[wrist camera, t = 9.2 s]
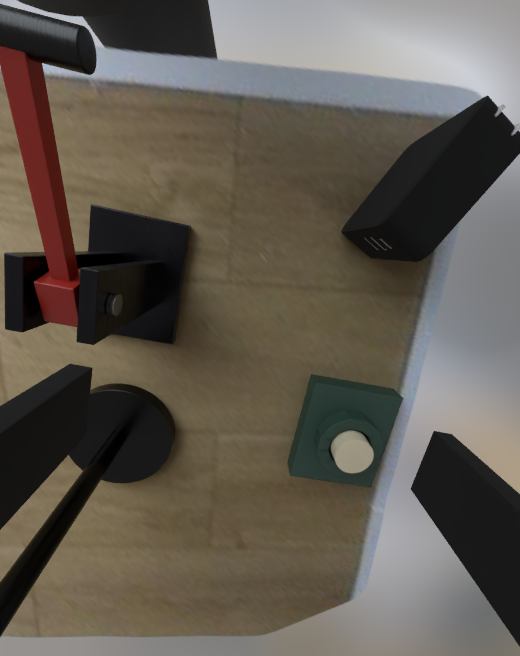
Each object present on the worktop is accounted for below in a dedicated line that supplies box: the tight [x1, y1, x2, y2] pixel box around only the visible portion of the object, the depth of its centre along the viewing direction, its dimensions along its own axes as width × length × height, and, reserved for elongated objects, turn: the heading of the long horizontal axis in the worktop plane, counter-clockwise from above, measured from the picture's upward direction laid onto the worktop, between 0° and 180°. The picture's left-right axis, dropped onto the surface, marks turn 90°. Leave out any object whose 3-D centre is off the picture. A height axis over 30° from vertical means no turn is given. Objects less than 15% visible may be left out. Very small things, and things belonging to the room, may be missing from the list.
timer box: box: [288, 375, 403, 487], centre depth 33 cm, size 12×10×4 cm
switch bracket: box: [4, 205, 191, 345], centre depth 23 cm, size 12×9×14 cm
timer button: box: [331, 430, 374, 473], centre depth 31 cm, size 4×4×2 cm
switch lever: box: [0, 4, 96, 327], centre depth 15 cm, size 14×6×2 cm, turn 168°
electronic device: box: [341, 96, 520, 262], centre depth 24 cm, size 4×10×10 cm, turn 142°
